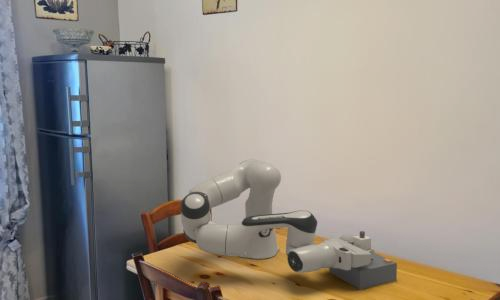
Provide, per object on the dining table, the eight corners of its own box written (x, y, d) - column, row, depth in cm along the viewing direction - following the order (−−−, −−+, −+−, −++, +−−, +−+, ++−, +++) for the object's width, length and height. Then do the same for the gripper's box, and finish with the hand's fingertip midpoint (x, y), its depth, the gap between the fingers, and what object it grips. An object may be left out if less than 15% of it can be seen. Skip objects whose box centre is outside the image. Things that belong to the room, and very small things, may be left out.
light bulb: (354, 261, 183) (354, 236, 182) (338, 260, 184) (339, 236, 183) (353, 256, 189) (354, 232, 188) (339, 255, 190) (339, 231, 189)
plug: (353, 268, 170) (353, 231, 168) (362, 266, 171) (363, 229, 170) (360, 272, 166) (361, 234, 164) (370, 270, 167) (371, 232, 166)
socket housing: (329, 271, 174) (329, 253, 173) (363, 264, 180) (363, 246, 179) (360, 289, 157) (360, 269, 156) (396, 280, 164) (396, 261, 163)
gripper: (315, 253, 172) (346, 247, 178) (350, 272, 153) (383, 265, 159) (315, 236, 171) (346, 231, 177) (350, 253, 153) (383, 247, 158)
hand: (364, 247), depth 168 cm, fingers open, 8 cm apart
